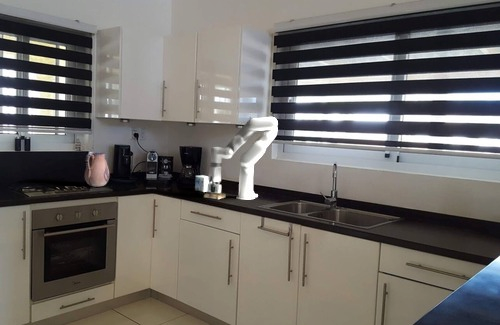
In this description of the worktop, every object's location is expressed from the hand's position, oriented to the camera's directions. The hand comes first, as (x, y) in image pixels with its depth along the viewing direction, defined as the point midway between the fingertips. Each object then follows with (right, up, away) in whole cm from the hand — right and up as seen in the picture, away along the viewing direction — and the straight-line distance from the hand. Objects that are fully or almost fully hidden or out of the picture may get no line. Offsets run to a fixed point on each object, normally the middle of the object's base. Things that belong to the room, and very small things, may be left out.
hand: (214, 191), depth 281 cm
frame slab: (0, 0, 0) cm, 1 cm away
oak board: (0, -4, 0) cm, 4 cm away
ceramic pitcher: (-91, +2, +26) cm, 95 cm away
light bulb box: (-11, -1, +26) cm, 28 cm away
